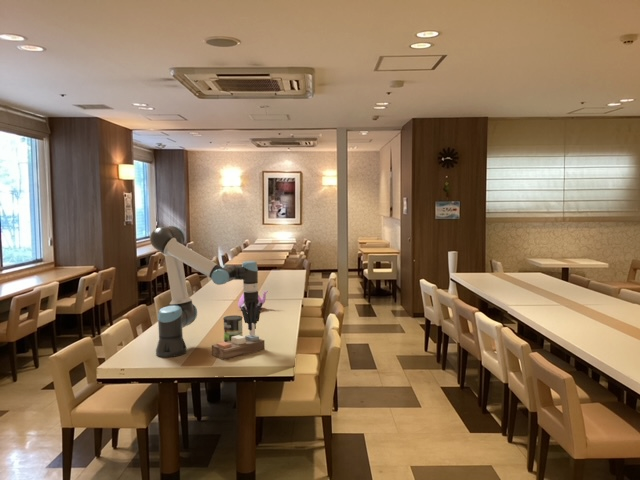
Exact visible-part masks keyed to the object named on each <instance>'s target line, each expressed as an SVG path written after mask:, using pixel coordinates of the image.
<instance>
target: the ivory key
mask: <svg viewBox="0 0 640 480" xmlns="http://www.w3.org/2000/svg"><path fill="white" fill-rule="evenodd" d="M231 343H234V344H237V345H239V344H244V343H245V336H244V335H243V336H240V335H237V336H232V337H231Z"/></svg>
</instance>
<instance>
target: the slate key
mask: <svg viewBox="0 0 640 480" xmlns="http://www.w3.org/2000/svg"><path fill="white" fill-rule="evenodd" d="M244 337H245V340H248V341H251V342H253V341H257V340H259V339H260V336H259V335H257V334H255V336H250V334H249V335H245V336H244Z"/></svg>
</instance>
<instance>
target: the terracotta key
mask: <svg viewBox="0 0 640 480" xmlns="http://www.w3.org/2000/svg"><path fill="white" fill-rule="evenodd" d="M216 344H217V346H218V347H220V348H223V349H224V348H228V347H231V344H230V343H227V342H224V341H221V342H218V343H216Z"/></svg>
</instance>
